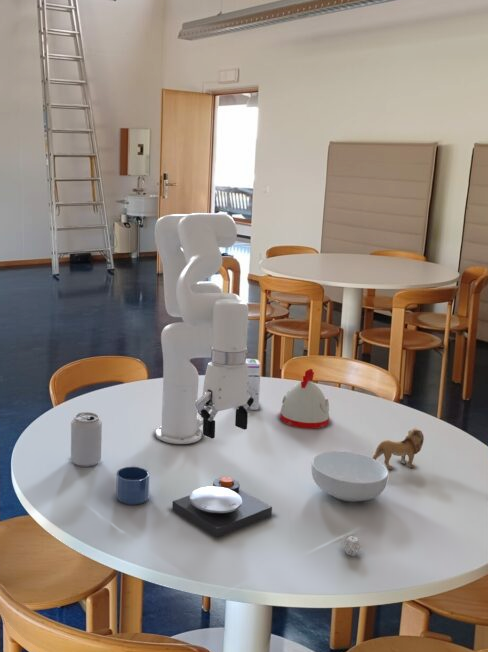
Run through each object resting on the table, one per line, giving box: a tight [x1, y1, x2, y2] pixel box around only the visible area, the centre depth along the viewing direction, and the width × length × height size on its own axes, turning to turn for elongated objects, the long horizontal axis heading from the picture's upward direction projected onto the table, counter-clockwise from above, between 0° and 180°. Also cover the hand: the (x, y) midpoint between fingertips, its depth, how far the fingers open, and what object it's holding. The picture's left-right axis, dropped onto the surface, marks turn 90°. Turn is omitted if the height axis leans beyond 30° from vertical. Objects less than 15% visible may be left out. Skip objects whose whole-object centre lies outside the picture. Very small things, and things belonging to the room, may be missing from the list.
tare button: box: [220, 476, 234, 487], centre depth 159 cm, size 3×3×1 cm
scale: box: [171, 477, 273, 539], centre depth 153 cm, size 16×14×4 cm
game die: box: [342, 535, 362, 557], centre depth 139 cm, size 4×4×3 cm
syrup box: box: [246, 358, 261, 411], centre depth 217 cm, size 6×6×14 cm
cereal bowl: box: [311, 450, 389, 503], centre depth 162 cm, size 17×17×7 cm
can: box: [70, 411, 103, 467], centre depth 175 cm, size 8×8×12 cm
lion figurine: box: [372, 428, 425, 470], centre depth 179 cm, size 15×5×9 cm, turn 110°
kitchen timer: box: [279, 368, 330, 429], centre depth 208 cm, size 14×14×15 cm
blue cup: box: [115, 466, 151, 506], centre depth 157 cm, size 7×7×6 cm
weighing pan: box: [189, 486, 242, 513], centre depth 151 cm, size 11×11×1 cm
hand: (225, 432), depth 157 cm, fingers open, 9 cm apart
